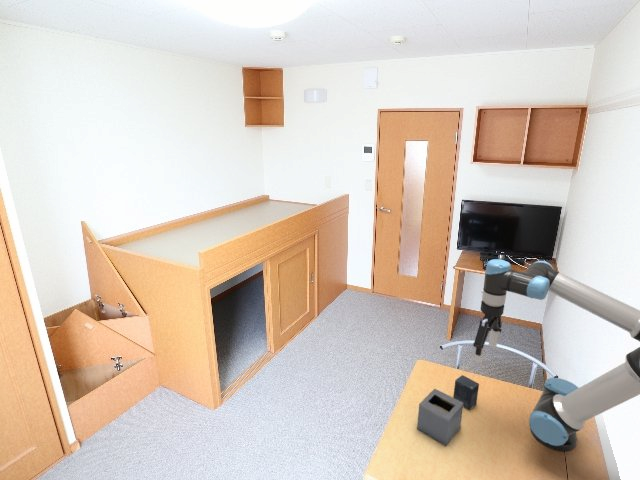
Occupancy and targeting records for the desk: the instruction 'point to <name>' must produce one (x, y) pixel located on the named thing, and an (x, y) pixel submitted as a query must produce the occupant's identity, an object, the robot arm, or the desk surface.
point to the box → (466, 391)
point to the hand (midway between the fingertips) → (485, 353)
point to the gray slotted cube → (440, 416)
